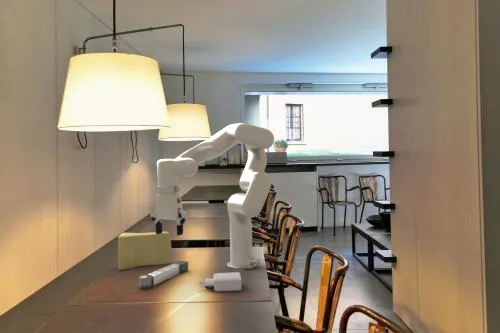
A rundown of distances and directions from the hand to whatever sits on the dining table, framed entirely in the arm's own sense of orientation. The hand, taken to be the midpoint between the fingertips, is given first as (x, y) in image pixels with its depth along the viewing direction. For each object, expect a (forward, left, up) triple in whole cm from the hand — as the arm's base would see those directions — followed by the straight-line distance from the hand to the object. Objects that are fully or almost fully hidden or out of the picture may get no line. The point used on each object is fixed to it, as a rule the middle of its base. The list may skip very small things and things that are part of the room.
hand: (169, 234), depth 164 cm
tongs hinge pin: (0, +15, -17) cm, 22 cm away
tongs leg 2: (-1, +1, -16) cm, 17 cm away
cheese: (+21, -12, -18) cm, 30 cm away
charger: (-24, +3, -18) cm, 30 cm away
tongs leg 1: (+1, +1, -16) cm, 17 cm away
